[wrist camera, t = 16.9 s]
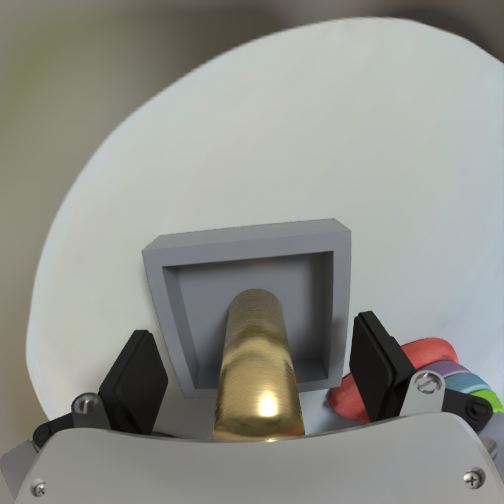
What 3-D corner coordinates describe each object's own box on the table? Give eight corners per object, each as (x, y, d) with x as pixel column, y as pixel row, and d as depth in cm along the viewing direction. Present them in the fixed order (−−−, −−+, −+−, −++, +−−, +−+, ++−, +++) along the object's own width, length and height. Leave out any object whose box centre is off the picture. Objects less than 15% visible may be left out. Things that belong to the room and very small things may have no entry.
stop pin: (282, 331, 15) (302, 455, 7) (232, 335, 15) (219, 459, 7) (281, 286, 14) (307, 408, 6) (226, 290, 14) (204, 413, 7)
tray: (331, 358, 16) (340, 386, 14) (192, 369, 17) (184, 397, 14) (334, 218, 14) (351, 230, 11) (159, 235, 14) (141, 250, 11)
